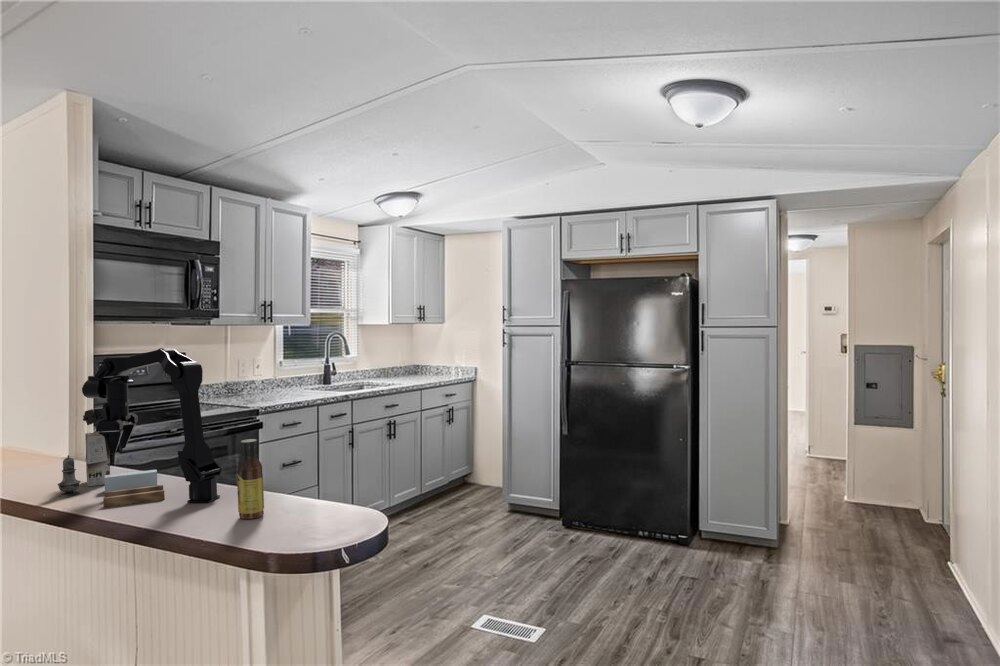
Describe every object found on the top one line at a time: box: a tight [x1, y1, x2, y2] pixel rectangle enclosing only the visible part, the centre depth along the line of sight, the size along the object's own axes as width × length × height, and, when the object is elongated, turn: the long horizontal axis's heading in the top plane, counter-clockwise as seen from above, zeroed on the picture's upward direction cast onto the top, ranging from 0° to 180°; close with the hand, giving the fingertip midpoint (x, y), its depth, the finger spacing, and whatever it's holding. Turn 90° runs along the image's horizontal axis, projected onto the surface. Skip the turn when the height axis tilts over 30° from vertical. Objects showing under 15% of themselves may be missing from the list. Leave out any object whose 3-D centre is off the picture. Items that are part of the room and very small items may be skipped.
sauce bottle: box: [236, 438, 265, 520], centre depth 166 cm, size 6×6×20 cm
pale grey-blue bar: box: [104, 469, 158, 492], centre depth 200 cm, size 14×4×5 cm, turn 120°
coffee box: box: [84, 431, 111, 487], centre depth 210 cm, size 9×6×16 cm
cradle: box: [102, 484, 165, 509], centre depth 186 cm, size 15×9×2 cm, turn 120°
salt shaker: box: [56, 454, 82, 498], centre depth 195 cm, size 6×6×12 cm
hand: (118, 451), depth 193 cm, fingers open, 9 cm apart
